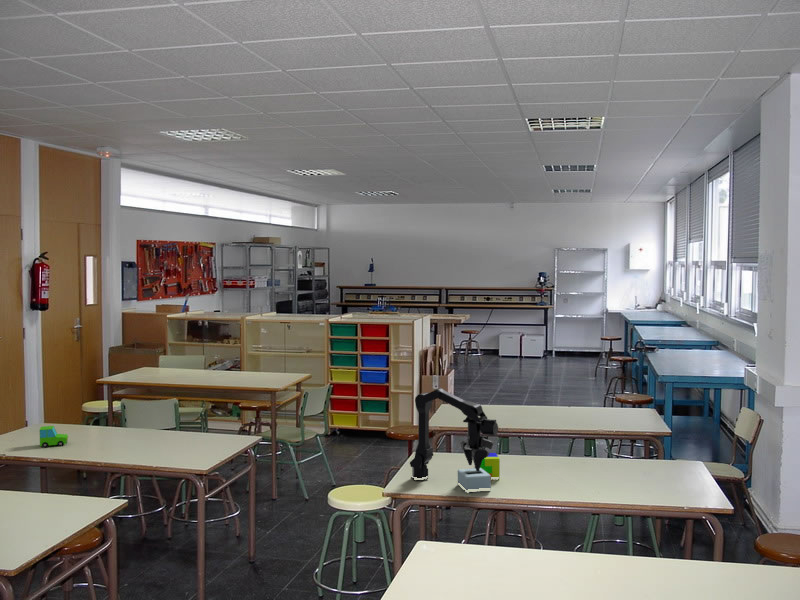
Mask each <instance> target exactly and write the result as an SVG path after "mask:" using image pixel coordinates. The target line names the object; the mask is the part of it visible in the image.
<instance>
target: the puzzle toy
mask: <svg viewBox="0 0 800 600" xmlns="http://www.w3.org/2000/svg"><path fill="white" fill-rule="evenodd" d="M500 461H501V460H500V457H499V455H498V454H497V453H496V452H488V457H486V458H484V459H483V460H482V463H481V466H480V468H482V469H483V470H484V471H486V472H487V473H488V474H489V475H491V477H499V478H500V472H501V471H500V466H501V464H500Z"/></svg>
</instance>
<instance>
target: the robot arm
mask: <svg viewBox="0 0 800 600" xmlns="http://www.w3.org/2000/svg"><path fill="white" fill-rule="evenodd" d="M414 398H415V399H414V404H415V408H416V410H417V413H418V432H417V433H418V434H417V435H418V441H417V442H418V444H417V447H416V448H415V452H414V458H413V459H412V460H411V461H410V462H409V465H410V467H411V468H412V470H411V473H412V475H411V476H413V477H417V478H422V477H426V476H428V477H429V468H428V465H429V462H430V461H431V460H432V458H433V457H434V446H431V445H430V411H431V410H432V409H431V408H432V406H433V401H434V400H436V399H438V400H441V401H442V402H444V403H446V404H448V405H451V406H452V407H455V408H456V409H458V410H459V411H461V413H462V414H463V415H465V416H466V417H465V419H463V421H462V423H467V434H465V436H466V438H467V440H461V442H460V448H461V450H462V452H463V454H464V456H465V459H466V461H467V463H468V466H472V464H474V468H476V471H479V469H480V466H481V463H482V460H483V459H484V458H486V457H488V453H489V451H487V449H489V450H492V449H493V445H494V442H493V441H492V440H490V439H489V438H488V436H494V437H495V436H498V435H497V434H498V433H499V424H498V422H497V420H496V419H488V416H487V415H486V414H485V412H484V410H483V407H482V405H481V404H480V403H477V402H473V401H468V400H465V399H462V398H460V397H458V396H456V395H454V394H452V393H451V392H449V391H446V390H444V389H443V388H436V389H434V390H433V391H430V392H428V391H427V392H422V393H420V394H417V395H416V396H415V397H414ZM485 448H487V449H485Z"/></svg>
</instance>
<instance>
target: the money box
mask: <svg viewBox="0 0 800 600" xmlns="http://www.w3.org/2000/svg"><path fill="white" fill-rule="evenodd" d="M491 482H492V480H491V475H489V474H488V473H487V472H486V471H484V470H483V469H482V468H480V469H479V471H476V468H475V467H473V468H462V469H461V468H460V469H457V484H458V483H460V484H461V485H462V486H463V487H464V488H465V489H466V490H468V489H479V488H491V489H492V486H491V484H492V483H491Z"/></svg>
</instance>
